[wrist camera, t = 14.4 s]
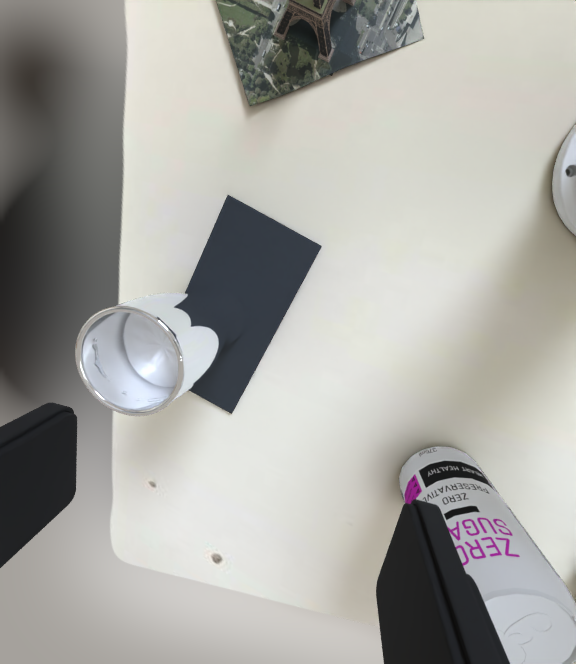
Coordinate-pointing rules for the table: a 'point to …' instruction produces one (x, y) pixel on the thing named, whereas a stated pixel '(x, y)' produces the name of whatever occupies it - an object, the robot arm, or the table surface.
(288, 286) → the mat
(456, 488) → the supplement can
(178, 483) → the table surface
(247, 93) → the eiffel tower figurine
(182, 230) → the table surface
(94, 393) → the beer glass
